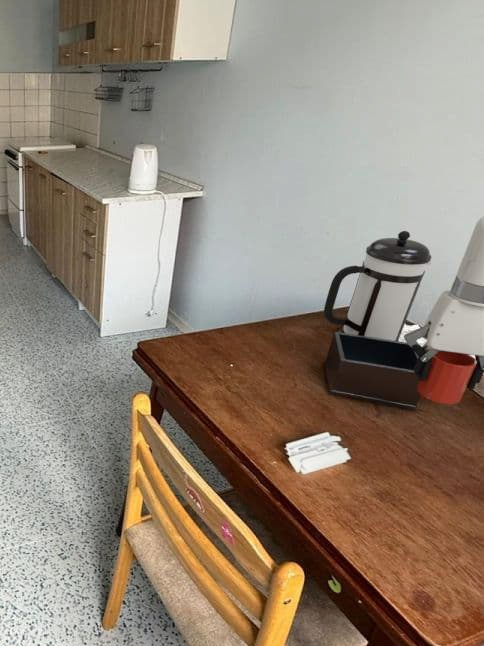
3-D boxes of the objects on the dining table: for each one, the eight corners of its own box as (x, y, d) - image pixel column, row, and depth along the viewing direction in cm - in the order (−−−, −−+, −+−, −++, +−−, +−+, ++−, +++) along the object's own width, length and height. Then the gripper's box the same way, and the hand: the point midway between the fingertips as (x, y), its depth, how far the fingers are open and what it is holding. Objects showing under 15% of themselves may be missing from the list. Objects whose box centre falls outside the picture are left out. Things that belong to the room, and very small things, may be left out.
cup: (454, 388, 89) (470, 351, 85) (465, 407, 84) (482, 369, 80) (413, 381, 91) (426, 345, 88) (421, 400, 86) (436, 362, 83)
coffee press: (349, 322, 135) (382, 218, 120) (412, 345, 122) (457, 232, 108) (313, 339, 127) (345, 230, 113) (377, 365, 115) (421, 247, 100)
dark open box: (400, 376, 110) (414, 343, 106) (414, 410, 99) (430, 374, 95) (324, 363, 116) (334, 331, 112) (329, 393, 105) (341, 359, 101)
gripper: (540, 288, 78) (496, 379, 86) (412, 277, 84) (383, 362, 93) (562, 306, 72) (513, 402, 80) (422, 292, 78) (390, 382, 87)
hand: (443, 380), depth 86 cm, fingers closed on cup, 6 cm apart
